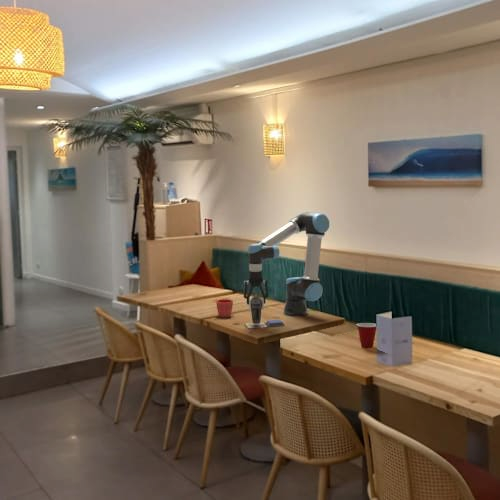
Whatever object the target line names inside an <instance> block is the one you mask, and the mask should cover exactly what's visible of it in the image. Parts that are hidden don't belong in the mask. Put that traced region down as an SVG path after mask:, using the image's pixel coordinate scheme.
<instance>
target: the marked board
mask: <svg viewBox="0 0 500 500" xmlns="http://www.w3.org/2000/svg"><path fill="white" fill-rule="evenodd" d="M244 326H245V327H246V328H247V329H248V330H257V329H269V328H270V327H269V326H268V325H267V324H266V322H260V323H258V324H254V323H253V322H252V323H251V322H250V323H244Z"/></svg>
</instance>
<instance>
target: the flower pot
mask: <svg viewBox="0 0 500 500" xmlns="http://www.w3.org/2000/svg"><path fill="white" fill-rule="evenodd" d="M215 302H216V308H217V314H218V315H217V316H218V317H221V318H228V317H229V318H230V317H231V316H232V311H233V304H234V300H232V299H218V300H216V301H215Z"/></svg>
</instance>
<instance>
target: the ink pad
mask: <svg viewBox="0 0 500 500" xmlns="http://www.w3.org/2000/svg"><path fill="white" fill-rule="evenodd" d="M265 324H266V325H267V326H268V327H269V328H271V327H272V328H273V327H274V328H275V327H284V326H285V323H284V322H283V321H282V320H281V319H270V320H269V319H268V320H267V321H265Z"/></svg>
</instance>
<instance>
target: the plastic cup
mask: <svg viewBox="0 0 500 500" xmlns="http://www.w3.org/2000/svg"><path fill="white" fill-rule="evenodd" d="M376 324H377V323H374V322H373V323H372V322H360V323H356V327H357V331H358V336H359V341H360V347H361V348H363V349H372V348H373V347H374V342H375V338H376V337H375V336H376V333H377V332H376V331H377V328H376Z"/></svg>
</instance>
